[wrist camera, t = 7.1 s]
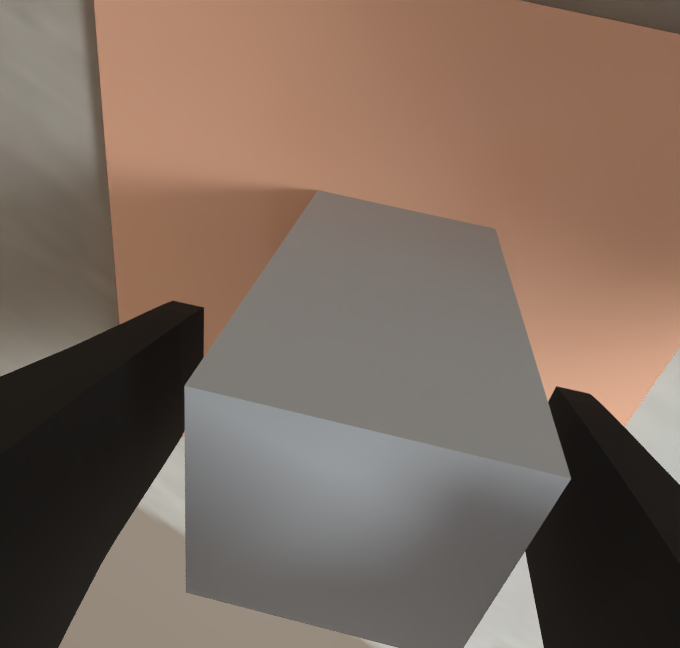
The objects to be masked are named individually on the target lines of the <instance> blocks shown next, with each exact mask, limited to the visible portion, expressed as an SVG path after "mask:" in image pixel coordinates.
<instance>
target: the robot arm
mask: <svg viewBox="0 0 680 648" xmlns="http://www.w3.org/2000/svg"><path fill="white" fill-rule="evenodd" d="M203 358H204V307H200V306H195V305H191V304H186V303H182V302H177V301H170V302H168V303H165V304H163V305H161V306H158V307H156V308H154V309H152V310H149V311H147V312H145V313H143V314H141V315H139V316H137V317H135V318H133V319H130V320H128V321H126V322H124V323H122V324H120V325H118V326H116V327H114V328H111V329H109V330H107V331H105V332H103V333H101V334H98V335H96V336H94V337H92V338H90V339H88V340H86V341H83V342H81V343H79V344H77V345H75V346H73V347H70V348H68V349H66V350H63V351H61V352H58V353H56V354H54V355H51V356H49V357H46V358H44V359H42V360H39V361H37V362H35V363H32V364H30V365H27V366H25V367H23V368H20V369H18V370H15V371H13V372H11V373H8V374H6V375H3V376H0V648H58V647H59V645H60V643H61V641H62V639H63V637H64V635H65V633H66V631H67V629H68V627H69V625H70V623H71V621H72V619H73V617H74V615H75V613H76V611H77V609H78V607H79V605H80V604H81V602H82V600H83V598H84V596H85V594H86V592H87V590H88V588H89V586H90V584H91V582H92V581H93V579H94V577H95V575H96V573H97V571H98V569H99V567H100V565H101V563H102V562H103V560H104V558H105V556H106V555H107V553H108V551H109V550H110V548H111V546H112V545H113V543H114V541H115V540H116V538H117V536H118V535H119V533H120V531H121V530H122V529H123V527H124V526H125V524H126V522H127V521H128V519H129V518H130V516H131V515H132V513H133V512H134V510H135V508H136V507H137V506H138V504H139V502H140V501H141V499H142V498H143V496H144V495H145V493H146V492H147V490H148V489H149V487H150V485H151V484H152V482H153V481H154V479H155V478H156V476H157V475H158V473H159V472H160V470H161V468H162V467H163V465H164V464H165V462H166V461H167V459H168V457H169V456H170V454H171V453H172V451H173V450H174V448H175V446H176V445H177V443H178V442H179V440H180V438H181V437H182V435H183V433H184V431H185V394H184V386H185V384H186V383H187V381H188V380H189V378H190V377H191V375H192V374H193V372H194V371H195V370H196V368H197V367H198V365H199V364H200V362H201V361H202V359H203ZM548 404H549V407H550V410H551V414H552V417H553V420H554V424H555V427H556V430H557V433H558V437H559V440H560V443H561V447H562V450H563V453H564V456H565V460H566V463H567V466H568V470H569V473H570V476H571V480H570V481H569V483H568V484H567V486H566V487H565V489H564V491H563V492H562V494H561V495H560V497H559V498H558V500H557V502H556V503H555V505H554V506H553V508H552V509H551V511H550V513H549V514H548V516H547V517H546V519H545V520H544V522H543V524H542V525H541V527H540V528H539V530H538V531H537V533H536V535H535V536H534V538H533V539H532V541H531V542H530V544H529V545H528V547H527V549H526V550H525V552H526V557H527V563H528V568H529V573H530V578H531V583H532V588H533V593H534V599H535V604H536V609H537V614H538V619H539V624H540V630H541V635H542V640H543V645H544V648H680V485H679V484H678V483H677V482H676V481H675V480H674V479H673V478H672V476H671V475H670V474H669V473H668V472H667V471H666V470H665V469H664V468H663V467H662V466H661V465H660V464H659V463H658V462H657V461H656V460H655V459H654V458H653V457H652V456H651V455H650V454H649V453H648V452H647V450H646V449H645V448H644V447H643V446H642V445H641V444H640V443H639V442H638V441H637V440H636V439H635V438H634V437H633V436H632V435H631V434H630V433H629V432H628V430H627V429H626V428H625V427H624V426H623V425H622V424H621V423H620V422H619V421H618V420H617V419H616V418H615V417H614V416H613V415H612V414H611V413H610V412H609V411H608V410H607V409H606V408H605V407H604V406H603V405H602V404H601V403H600V402H599V401H598V400H597V399H596V398H595V397H593V396H592V395H591V394H589V393H585V392H580V391H576V390H571V389H567V388H562V387H558V386H556V388H555V390H554V391H553V393H552V395H551V397H550V399H549V401H548Z"/></svg>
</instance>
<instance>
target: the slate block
mask: <svg viewBox="0 0 680 648" xmlns="http://www.w3.org/2000/svg"><path fill="white" fill-rule="evenodd" d="M184 394H185V528H186V592H187V593H190V594H194V595H198V596H202V597H206V598H210V599H213V600H217V601H221V602H225V603H229V604H233V605H237V606H240V607H245V608H248V609H252V610H256V611H260V612H263V613H267V614H271V615H275V616H279V617H283V618H287V619H290V620H294V621H298V622H302V623H306V624H310V625H314V626H318V627H321V628H325V629H329V630H333V631H337V632H340V633H344V634H348V635H352V636H356V637H360V638H363V639H367V640H371V641H375V642H379V643H383V644H386V645H390V646H394V647H398V648H463V647H464V646H465V644H466V643H467V641H468V640H469V638H470V636H471V635H472V633H473V632H474V630H475V629H476V627H477V625H478V624H479V622H480V621H481V619H482V618H483V616H484V614H485V613H486V611H487V610H488V608H489V607H490V605H491V603H492V602H493V600H494V599H495V597H496V596H497V594H498V593H499V591H500V589H501V588H502V586H503V585H504V583H505V582H506V580H507V578H508V577H509V575H510V574H511V572H512V571H513V569H514V567H515V566H516V564H517V563H518V561H519V560H520V558H521V556H522V555H523V553H524V552H525V550H526V549H527V547H528V545H529V544H530V542H531V541H532V539H533V538H534V536H535V535H536V533H537V531H538V530H539V528H540V527H541V525H542V524H543V522H544V520H545V519H546V517H547V516H548V514H549V513H550V511H551V509H552V508H553V506H554V505H555V503H556V502H557V500H558V498H559V497H560V495H561V494H562V492H563V491H564V489H565V487H566V486H567V484H568V483H569V481H570V480H571V476H570V473H569V470H568V466H567V463H566V460H565V456H564V453H563V450H562V447H561V443H560V440H559V437H558V433H557V430H556V427H555V424H554V420H553V417H552V414H551V410H550V407H549V404H548V401H547V397H546V394H545V391H544V387H543V384H542V381H541V377H540V374H539V371H538V368H537V364H536V361H535V358H534V354H533V351H532V348H531V345H530V341H529V338H528V335H527V331H526V328H525V325H524V321H523V318H522V315H521V312H520V308H519V305H518V302H517V298H516V295H515V292H514V289H513V285H512V282H511V279H510V275H509V272H508V269H507V265H506V262H505V259H504V256H503V252H502V249H501V246H500V242H499V239H498V236H497V233H496V229H494V228H489V227H485V226H480V225H476V224H471V223H466V222H462V221H457V220H453V219H448V218H444V217H439V216H434V215H430V214H425V213H421V212H416V211H411V210H407V209H402V208H398V207H393V206H389V205H384V204H379V203H375V202H370V201H366V200H361V199H356V198H352V197H347V196H343V195H338V194H334V193H329V192H324V191H320V190H318V191H317V192H316V194H315V195H314V197H313V198H312V200H311V201H310V203H309V204H308V206H307V207H306V208H305V210H304V211H303V213H302V214H301V216H300V217H299V219H298V220H297V222H296V223H295V225H294V226H293V227H292V229H291V230H290V232H289V233H288V235H287V236H286V238H285V239H284V241H283V242H282V244H281V245H280V247H279V248H278V249H277V251H276V252H275V254H274V255H273V257H272V258H271V260H270V261H269V263H268V264H267V266H266V267H265V268H264V270H263V271H262V273H261V274H260V276H259V277H258V279H257V280H256V282H255V283H254V285H253V286H252V288H251V289H250V290H249V292H248V293H247V295H246V296H245V298H244V299H243V301H242V302H241V304H240V305H239V307H238V308H237V309H236V311H235V312H234V314H233V315H232V317H231V318H230V320H229V321H228V323H227V324H226V326H225V327H224V329H223V330H222V331H221V333H220V334H219V336H218V337H217V339H216V340H215V342H214V343H213V345H212V346H211V348H210V349H209V351H208V352H207V353H206V355H205V356H204V358H203V359H202V361H201V362H200V364H199V365H198V367H197V368H196V370H195V371H194V372H193V374H192V375H191V377H190V378H189V380H188V381H187V383H186V384H185V386H184Z"/></svg>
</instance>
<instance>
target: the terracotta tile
mask: <svg viewBox="0 0 680 648" xmlns="http://www.w3.org/2000/svg"><path fill="white" fill-rule="evenodd" d="M94 11H95V23H96V36H97V49H98V61H99V74H100V86H101V99H102V112H103V124H104V137H105V150H106V162H107V175H108V187H109V200H110V213H111V225H112V238H113V251H114V263H115V276H116V288H117V301H118V314H119V325H120V324H122V323H124V322H126V321H128V320H130V319H133V318H135V317H137V316H139V315H141V314H143V313H145V312H147V311H149V310H152V309H154V308H156V307H158V306H161V305H163V304H165V303H168V302H170V301H177V302H182V303H186V304H191V305H195V306H200V307H204V356H205V355H206V353H207V352H208V351H209V349H210V348H211V346H212V345H213V343H214V342H215V340H216V339H217V337H218V336H219V334H220V333H221V331H222V330H223V329H224V327H225V326H226V324H227V323H228V321H229V320H230V318H231V317H232V315H233V314H234V312H235V311H236V309H237V308H238V307H239V305H240V304H241V302H242V301H243V299H244V298H245V296H246V295H247V293H248V292H249V290H250V289H251V288H252V286H253V285H254V283H255V282H256V280H257V279H258V277H259V276H260V274H261V273H262V271H263V270H264V268H265V267H266V266H267V264H268V263H269V261H270V260H271V258H272V257H273V255H274V254H275V252H276V251H277V249H278V248H279V247H280V245H281V244H282V242H283V241H284V239H285V238H286V236H287V235H288V233H289V232H290V230H291V229H292V227H293V226H294V225H295V223H296V222H297V220H298V219H299V217H300V216H301V214H302V213H303V211H304V210H305V208H306V207H307V206H308V204H309V203H310V201H311V200H312V198H313V197H314V195H315V194H316V192H317V191H318V190H320V191H324V192H329V193H334V194H338V195H343V196H347V197H352V198H356V199H361V200H366V201H370V202H375V203H379V204H384V205H389V206H393V207H398V208H402V209H407V210H411V211H416V212H421V213H425V214H430V215H434V216H439V217H444V218H448V219H453V220H457V221H462V222H466V223H471V224H476V225H480V226H485V227H489V228H494V229H496V233H497V236H498V239H499V242H500V246H501V249H502V252H503V256H504V259H505V262H506V265H507V269H508V272H509V275H510V279H511V282H512V285H513V289H514V292H515V295H516V298H517V302H518V305H519V308H520V312H521V315H522V318H523V321H524V325H525V328H526V331H527V335H528V338H529V341H530V345H531V348H532V351H533V354H534V358H535V361H536V364H537V368H538V371H539V374H540V377H541V381H542V384H543V387H544V391H545V394H546V397H547V401H549V399H550V397H551V395H552V393H553V391H554V390H555V388H556V386H558V387H562V388H567V389H571V390H576V391H580V392H585V393H589V394H591V395H592V396H593V397H595V398H596V399H597V400H598V401H599V402H600V403H601V404H602V405H603V406H604V407H605V408H606V409H607V410H608V411H609V412H610V413H611V414H612V415H613V416H614V417H615V418H616V419H617V420H618V421H619V422H620V423H621V424H622V425H623V426H624V427H625V425H626V424H627V423H628V421H629V420H630V418H631V417H632V415H633V414H634V412H635V411H636V410H637V408H638V407H639V405H640V404H641V402H642V401H643V399H644V398H645V396H646V395H647V394H648V392H649V391H650V389H651V388H652V386H653V385H654V383H655V382H656V381H657V379H658V378H659V376H660V375H661V373H662V372H663V370H664V369H665V367H666V366H667V365H668V363H669V362H670V360H671V359H672V357H673V356H674V354H675V353H676V352H677V350H678V349H679V347H680V34H677V33H672V32H667V31H662V30H658V29H653V28H648V27H644V26H639V25H634V24H629V23H625V22H620V21H615V20H611V19H606V18H601V17H596V16H592V15H587V14H582V13H577V12H573V11H568V10H563V9H559V8H554V7H549V6H544V5H540V4H535V3H530V2H526V1H521V0H94ZM183 436H185V431H184V433H183Z"/></svg>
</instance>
